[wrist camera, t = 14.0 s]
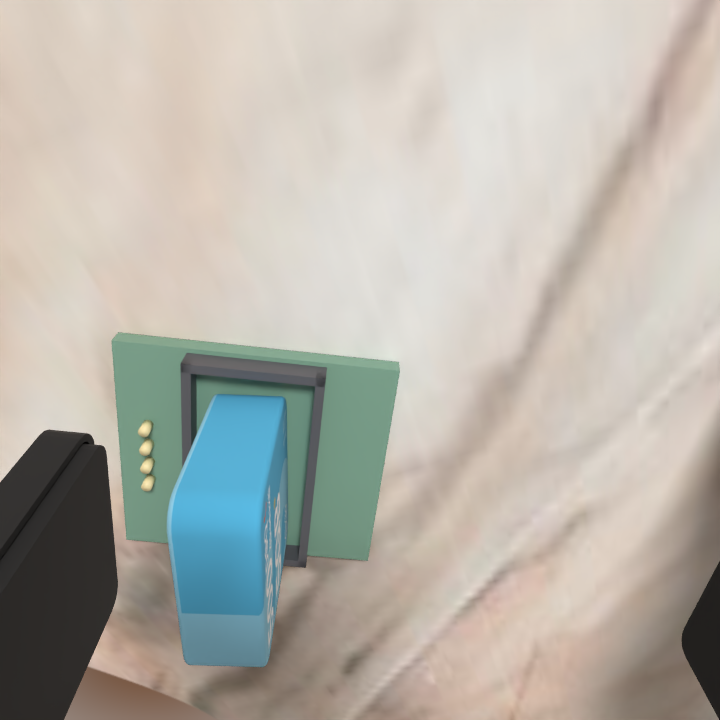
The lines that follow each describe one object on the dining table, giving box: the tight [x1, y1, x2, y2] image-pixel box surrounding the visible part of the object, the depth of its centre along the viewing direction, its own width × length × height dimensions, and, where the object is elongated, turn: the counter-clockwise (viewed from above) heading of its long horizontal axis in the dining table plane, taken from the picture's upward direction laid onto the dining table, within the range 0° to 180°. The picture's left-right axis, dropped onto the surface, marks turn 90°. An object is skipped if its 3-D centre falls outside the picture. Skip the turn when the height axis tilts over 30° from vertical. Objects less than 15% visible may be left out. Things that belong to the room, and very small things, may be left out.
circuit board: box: [112, 332, 400, 568], centre depth 41 cm, size 18×16×3 cm
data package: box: [167, 394, 288, 667], centre depth 36 cm, size 12×4×12 cm, turn 178°
